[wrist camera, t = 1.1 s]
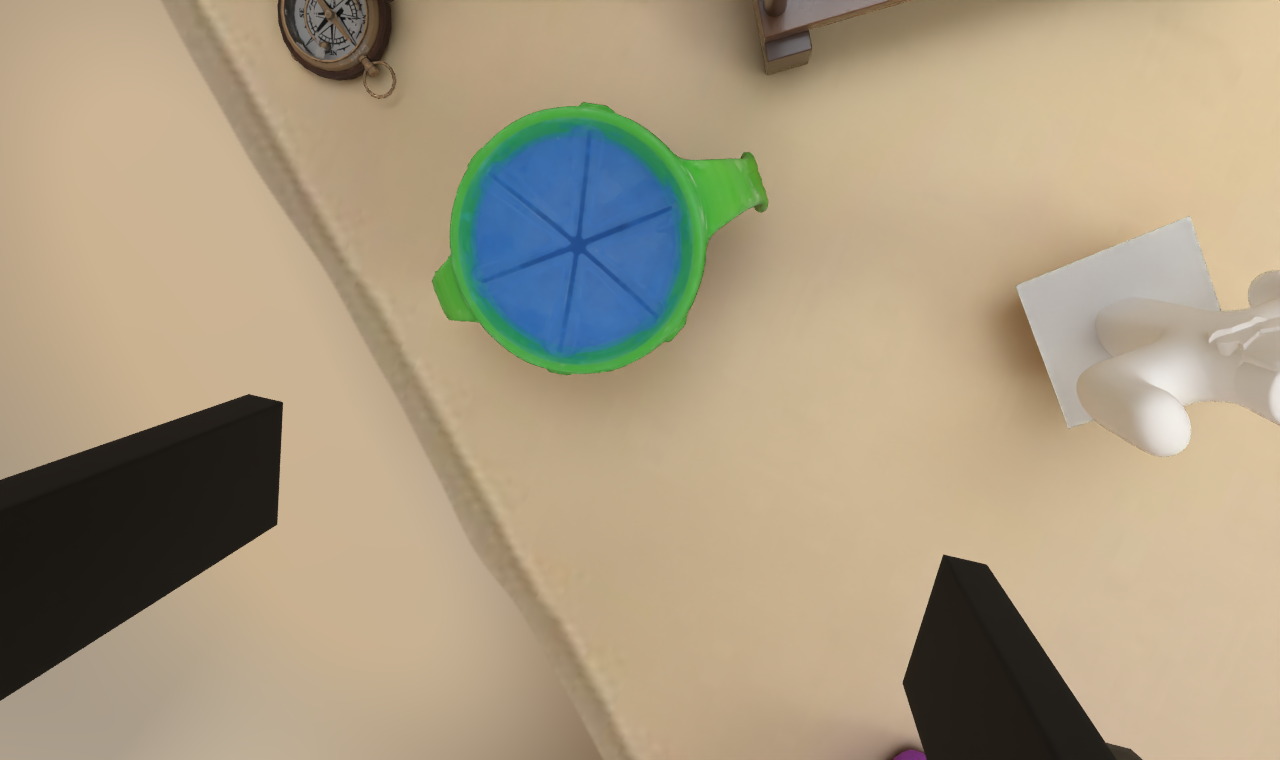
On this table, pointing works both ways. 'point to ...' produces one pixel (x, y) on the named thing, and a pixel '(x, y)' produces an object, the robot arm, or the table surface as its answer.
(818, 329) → the table surface
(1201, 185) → the table surface
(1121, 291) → the figurine
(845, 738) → the table surface
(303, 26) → the compass
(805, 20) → the dish rack
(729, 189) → the snack cup
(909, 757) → the toy camera
